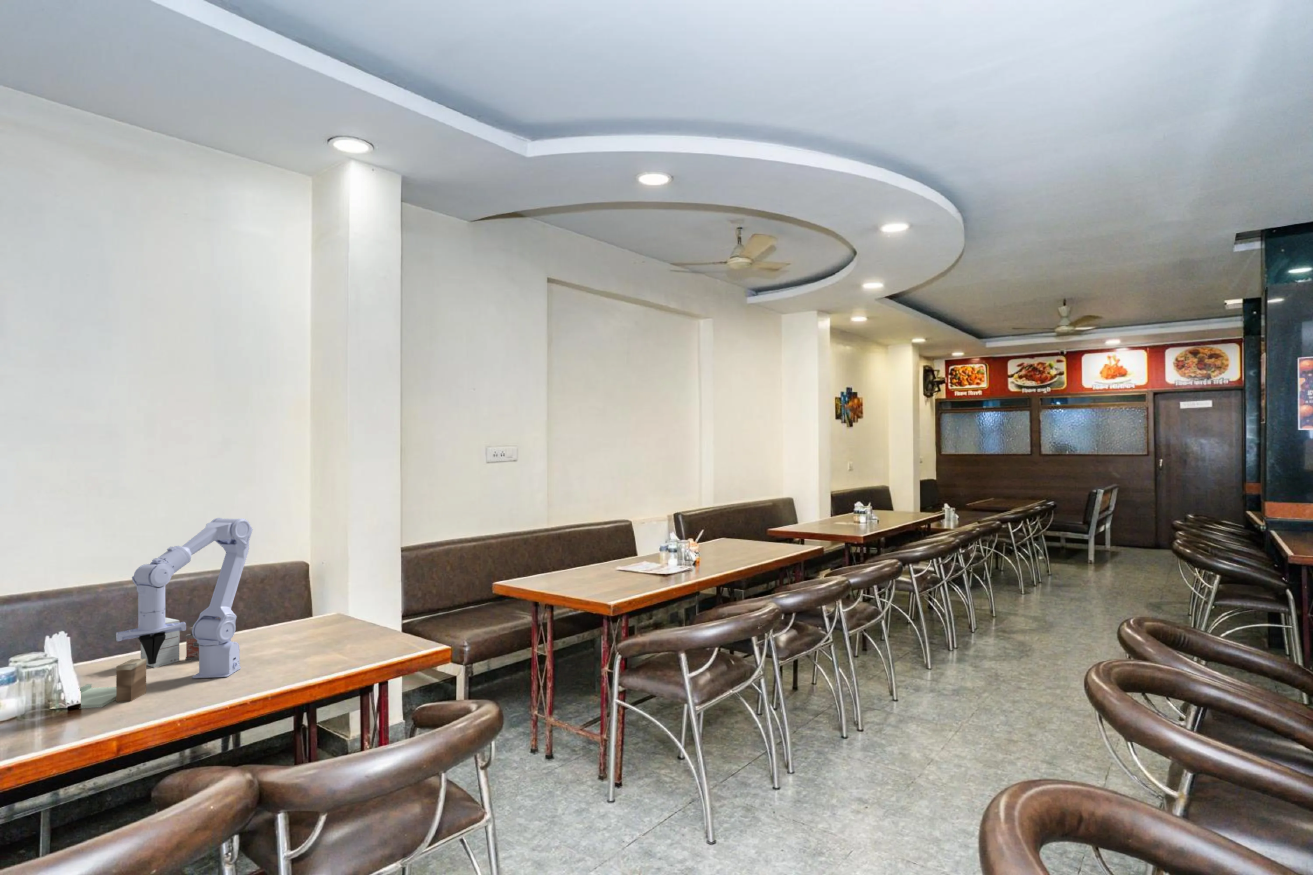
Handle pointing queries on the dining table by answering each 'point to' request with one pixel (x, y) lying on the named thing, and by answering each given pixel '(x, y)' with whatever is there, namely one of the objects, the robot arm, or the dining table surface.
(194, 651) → the small bottle
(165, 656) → the supplement box
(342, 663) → the dining table surface
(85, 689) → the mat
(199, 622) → the robot arm
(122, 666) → the walnut block
